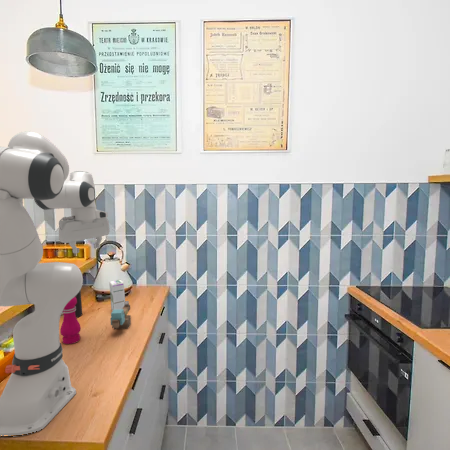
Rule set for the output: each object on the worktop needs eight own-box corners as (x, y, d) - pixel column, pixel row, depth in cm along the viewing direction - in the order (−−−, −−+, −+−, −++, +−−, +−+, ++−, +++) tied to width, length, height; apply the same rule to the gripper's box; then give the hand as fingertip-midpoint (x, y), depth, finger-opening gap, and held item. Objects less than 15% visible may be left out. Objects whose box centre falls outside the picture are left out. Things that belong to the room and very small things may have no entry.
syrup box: (126, 310, 155) (124, 281, 153) (113, 313, 151) (112, 284, 150) (122, 307, 159) (121, 279, 158) (110, 309, 156) (108, 281, 154)
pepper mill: (73, 345, 121) (69, 295, 118) (56, 344, 122) (52, 294, 120) (85, 336, 128) (81, 289, 125) (69, 335, 129) (65, 288, 127)
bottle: (85, 315, 150) (82, 274, 147) (70, 320, 145) (67, 277, 142) (78, 311, 154) (75, 271, 152) (64, 316, 149) (60, 275, 147)
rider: (122, 324, 129) (121, 313, 128) (110, 325, 128) (110, 313, 128) (124, 320, 132) (124, 309, 132) (113, 321, 132) (113, 309, 132)
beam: (123, 337, 127) (122, 318, 126) (108, 337, 127) (107, 318, 126) (134, 316, 147) (133, 300, 146) (121, 317, 147) (120, 300, 146)
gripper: (64, 218, 110) (67, 256, 112) (110, 212, 128) (113, 246, 130) (53, 217, 113) (56, 255, 115) (100, 212, 131) (102, 244, 133)
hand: (86, 250), depth 122 cm, fingers open, 8 cm apart
